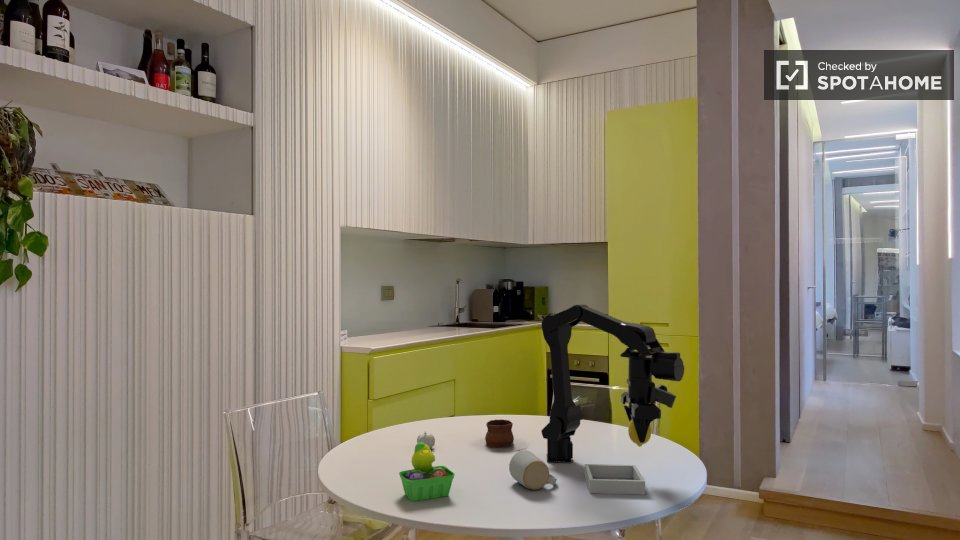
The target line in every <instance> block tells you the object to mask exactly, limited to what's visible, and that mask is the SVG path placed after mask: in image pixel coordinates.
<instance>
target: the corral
mask: <svg viewBox="0 0 960 540" xmlns="http://www.w3.org/2000/svg"><path fill="white" fill-rule="evenodd" d="M584 478H585V481H586V485H587V488H588V491H589V494H607V495H608V494H610V495H644V496H645V495H646V480H645V479H644V477H643V476H642V474H641V472H640V470H639V468H638V467H637V465H636V464H610V463H609V464H604V463H603V464H599V463H584ZM598 478H599V479H598ZM602 478H603V479H602ZM616 478H617V479H616Z"/></svg>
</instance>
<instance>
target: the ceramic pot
mask: <svg viewBox="0 0 960 540" xmlns="http://www.w3.org/2000/svg"><path fill="white" fill-rule="evenodd" d="M486 427H487V432H486V434H485V437H484V440H485V446H487V447H489V448H496V449H502V448H503V449H504V448H509V447H511V446H512V445H513V444H514V439H515V436H514V433H513V430H512V429H513V422H512V421H510V420H508V419H494V420H493V419H492V420H491V419H490V420H489V421H487V422H486ZM522 450H527V447H525V448H522V449H518V450H517V452H519V451H522Z"/></svg>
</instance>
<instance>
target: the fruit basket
mask: <svg viewBox="0 0 960 540" xmlns="http://www.w3.org/2000/svg"><path fill="white" fill-rule="evenodd" d="M435 461H436V457H435V454H434V452H433V451H432V450H431V448H429V446H428V445H426V444H424V443H423V442H421V443H417V442H416V444H415V446H414V452H413V454H412V455H411V465H412V467H413V468H412V469H408V470H407V469H406V470H401V471H399V472H398V474H399V477H400V480H401V483H402V487H403V491H404V494H405V496H406V497H407V499H409V500H410V501H411V502H416V501H421V500H428V499H437V498H440V497H448V496H449V495H450V491H451V488H452V485H453V479H454V477H455V473H454V472H453V471H452V470H451V469H449V468H448V467H447V466H445V465H437V466H433V463H434V462H435Z"/></svg>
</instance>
